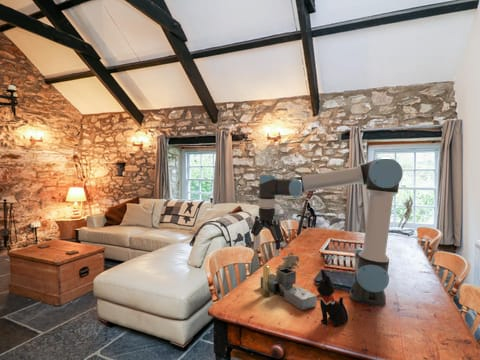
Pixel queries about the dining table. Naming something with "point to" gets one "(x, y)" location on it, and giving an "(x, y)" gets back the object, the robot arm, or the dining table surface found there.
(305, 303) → the grey flat block
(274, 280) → the hinge base
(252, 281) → the dining table surface
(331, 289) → the figurine
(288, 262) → the vertebra
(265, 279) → the pin
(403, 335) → the dining table surface
